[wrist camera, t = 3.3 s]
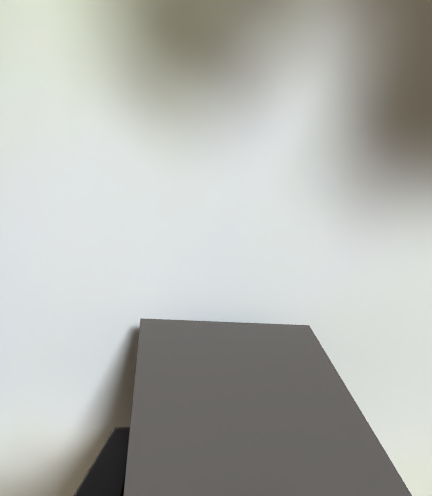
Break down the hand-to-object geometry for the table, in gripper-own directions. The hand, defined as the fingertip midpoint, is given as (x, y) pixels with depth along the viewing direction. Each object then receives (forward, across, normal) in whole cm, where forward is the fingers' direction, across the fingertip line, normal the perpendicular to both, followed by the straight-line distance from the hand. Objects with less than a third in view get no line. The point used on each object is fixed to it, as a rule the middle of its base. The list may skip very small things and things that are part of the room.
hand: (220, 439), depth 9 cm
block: (+1, 0, 0) cm, 1 cm away
